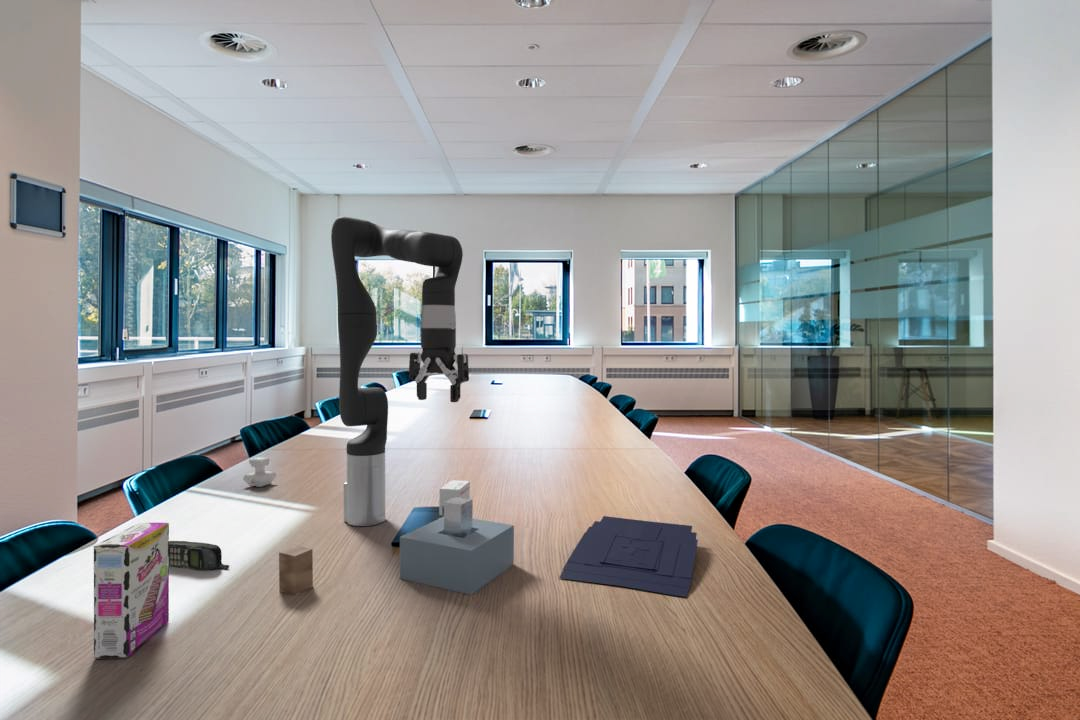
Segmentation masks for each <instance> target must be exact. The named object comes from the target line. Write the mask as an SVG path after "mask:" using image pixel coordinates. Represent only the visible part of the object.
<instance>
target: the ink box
mask: <svg viewBox="0 0 1080 720" xmlns="http://www.w3.org/2000/svg"><path fill="white" fill-rule="evenodd" d="M470 493H471V481H469V480H455V479H454V480H453V479H452V480H450V481H449V482H447V483H446V484H444V485H443V486H442V487H440V488H439V504H438V505H439V508H438V513H439V514H438V519H439V518H442V517H444V502H445V501H447V500H450V499H452V498H455V497H459V498H465V499H470V495H471V494H470Z"/></svg>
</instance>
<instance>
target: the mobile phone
mask: <svg viewBox="0 0 1080 720" xmlns="http://www.w3.org/2000/svg"><path fill="white" fill-rule="evenodd" d="M222 554H223V553H222V549H221V548H220V546H219V545H217V544H213V543H208V542H198V541H197V542H195V541H185V540H169V567H170V568H172V567H173V568H180V569H181V568H182V569H189V570H194V571H208V570H215V569H230V565H229V564H224V563H222Z"/></svg>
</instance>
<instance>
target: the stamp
mask: <svg viewBox="0 0 1080 720" xmlns="http://www.w3.org/2000/svg"><path fill="white" fill-rule="evenodd" d="M248 461H249V462H248V463H249V465H250V466H251V468H254V469H255V471H253V472H250V473H246V474H245V475H244V476H243V481H244V482H245V483H246V484H247V485H248V486H250V487H254V486H256V488H257V487H258V488H262V487H264V486H265V487H266V486H268V485H270V484H272V482H274V480H275V479H276V478H277V473H276V472H275V471H272V470H271V471H268V470H265V467H267V466H269V464H270V458H269V457H259V456H258V457H254V458H250V459H249V460H248Z"/></svg>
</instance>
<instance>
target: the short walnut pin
mask: <svg viewBox="0 0 1080 720" xmlns="http://www.w3.org/2000/svg"><path fill="white" fill-rule="evenodd" d="M313 550H314V549H313V548H310V547H305V546H301V545H294V546H292V547H290V548H287V549H285V550H281V551H279V552H278V575H279V576H278V577H279V578H278V579H279V580H278V581H279V583H278V584H279V585H278V587H279V591H280V592H283V593H287V594H291V595H294V596H295V595H298V594H300V593H302V592H305V591H306V590H308V589H310V588H312V587H313V586H314V583H313V582H314V578H313V576H314V574H313V571H314V570H313V569H314V568H313V567H314V566H313V565H314V564H313V562H314V559H313V557H314V556H313V553H314V552H313Z"/></svg>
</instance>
